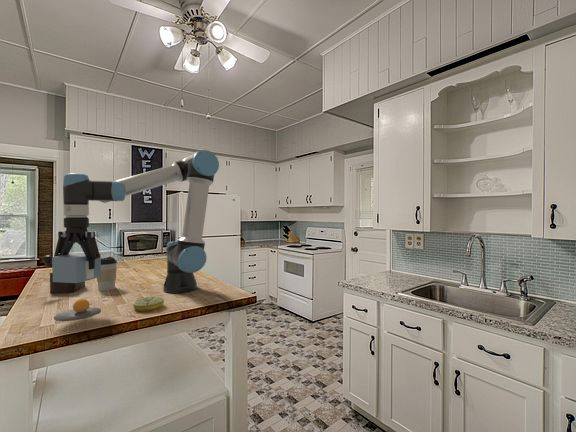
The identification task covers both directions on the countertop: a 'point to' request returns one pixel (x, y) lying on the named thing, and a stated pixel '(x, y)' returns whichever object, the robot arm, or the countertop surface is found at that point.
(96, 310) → the disc
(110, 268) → the coffee cup
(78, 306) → the ball
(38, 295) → the countertop surface
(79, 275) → the grey rectangular block
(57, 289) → the brown coffee grinder
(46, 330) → the countertop surface
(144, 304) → the decorated donut
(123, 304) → the countertop surface
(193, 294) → the countertop surface
